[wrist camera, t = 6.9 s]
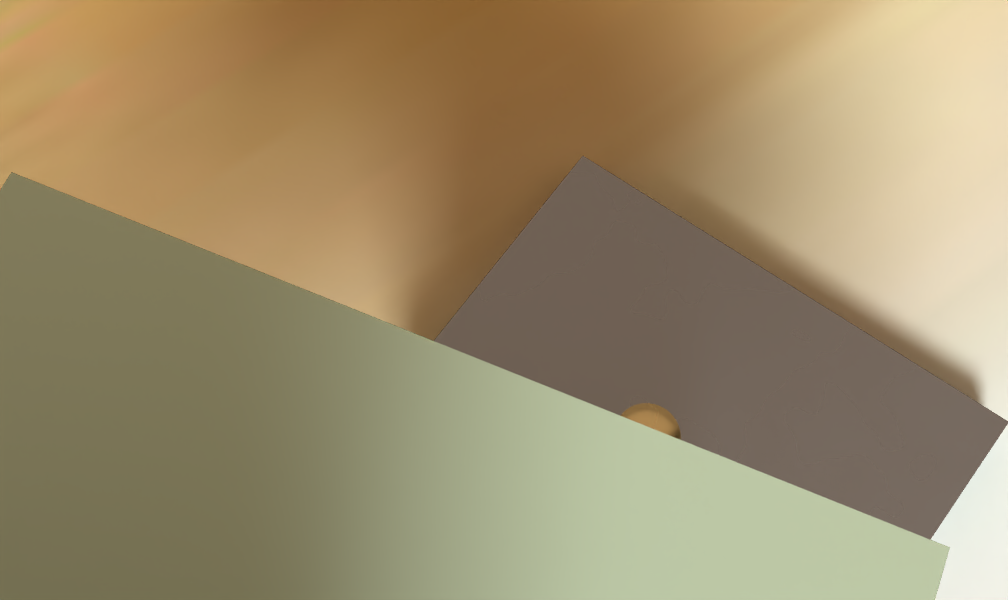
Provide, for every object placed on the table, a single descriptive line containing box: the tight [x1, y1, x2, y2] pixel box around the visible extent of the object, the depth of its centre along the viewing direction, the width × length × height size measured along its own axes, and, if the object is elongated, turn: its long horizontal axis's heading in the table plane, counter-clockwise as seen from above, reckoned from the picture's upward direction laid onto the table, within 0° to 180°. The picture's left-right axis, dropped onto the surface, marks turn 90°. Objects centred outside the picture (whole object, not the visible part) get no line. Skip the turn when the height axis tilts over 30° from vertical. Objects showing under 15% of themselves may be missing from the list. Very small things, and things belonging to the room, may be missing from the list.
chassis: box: [434, 156, 1008, 539], centre depth 18 cm, size 14×12×4 cm
